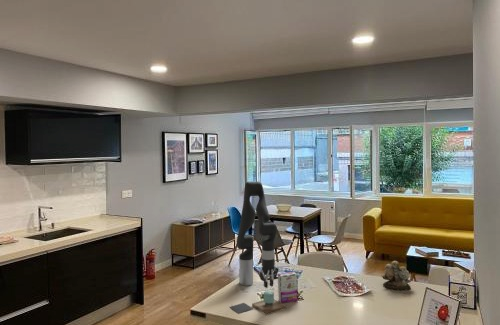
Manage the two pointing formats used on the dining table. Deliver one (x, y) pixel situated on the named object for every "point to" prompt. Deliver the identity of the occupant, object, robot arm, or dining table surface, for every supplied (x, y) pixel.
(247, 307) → the mat
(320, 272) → the dining table surface
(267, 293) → the cap
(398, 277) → the owl figurine
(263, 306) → the post base
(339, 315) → the dining table surface
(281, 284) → the candy bar box
